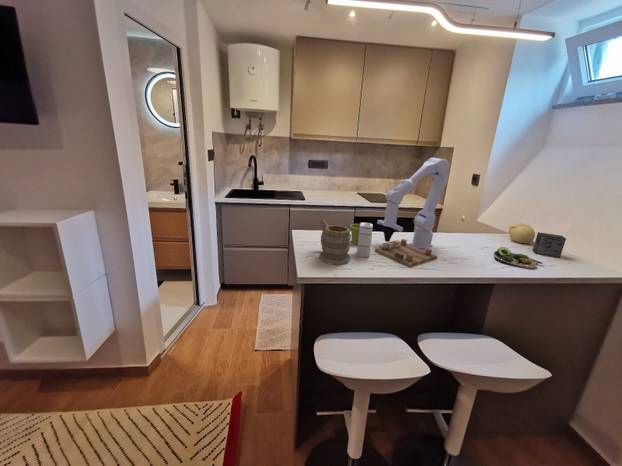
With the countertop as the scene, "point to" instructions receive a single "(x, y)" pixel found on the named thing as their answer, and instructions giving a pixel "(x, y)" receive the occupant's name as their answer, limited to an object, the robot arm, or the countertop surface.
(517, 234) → the pale yellow rounded lump
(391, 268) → the countertop surface
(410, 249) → the brown wooden flat board
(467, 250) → the countertop surface
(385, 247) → the long beige beam
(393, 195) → the robot arm
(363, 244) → the syrup box
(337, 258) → the tankard
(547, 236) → the small box
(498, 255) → the salad plate
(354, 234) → the plant pot
